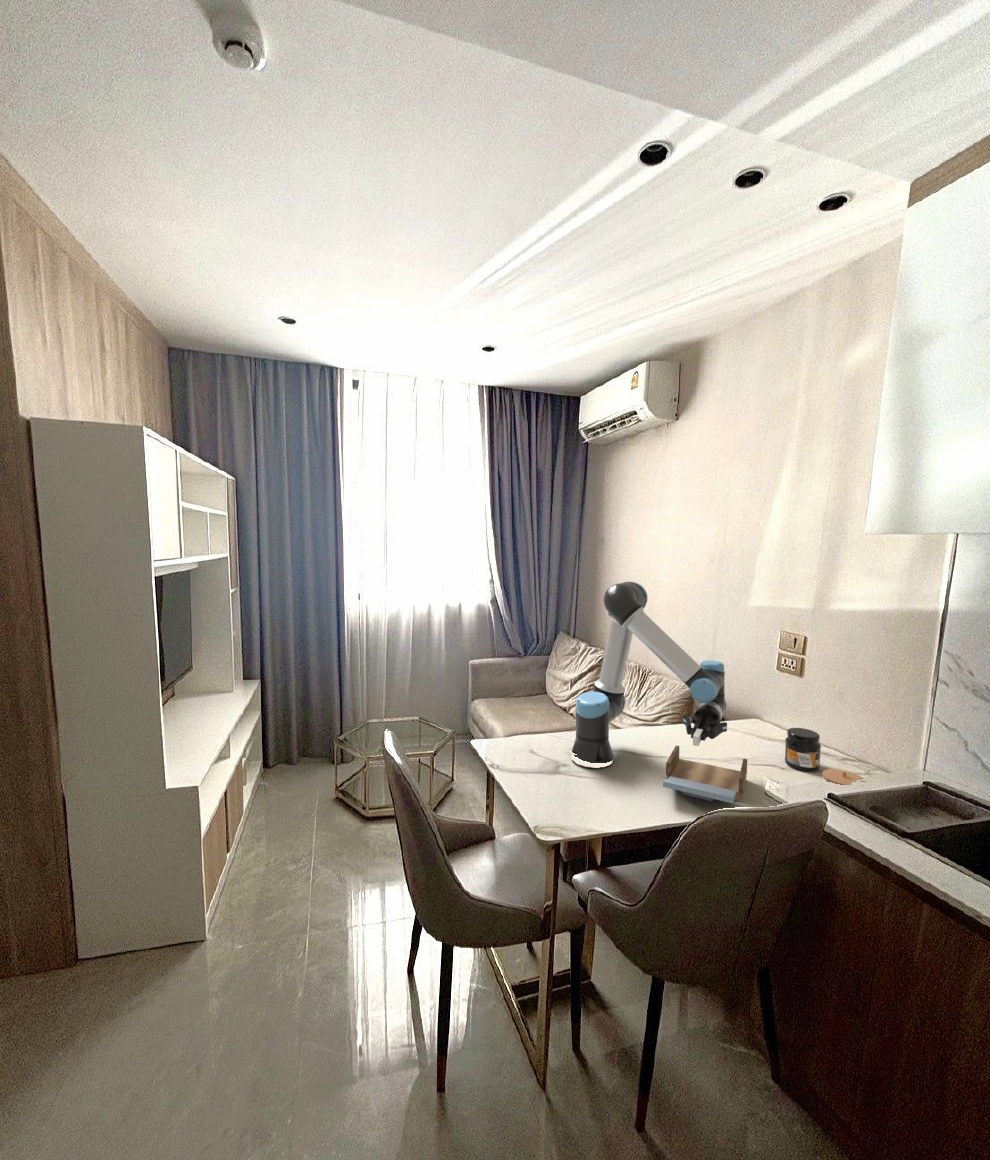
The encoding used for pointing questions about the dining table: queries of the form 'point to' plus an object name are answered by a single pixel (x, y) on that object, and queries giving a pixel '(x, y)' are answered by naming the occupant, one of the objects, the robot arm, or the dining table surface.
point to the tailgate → (700, 789)
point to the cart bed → (707, 773)
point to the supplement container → (802, 749)
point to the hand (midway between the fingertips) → (695, 741)
